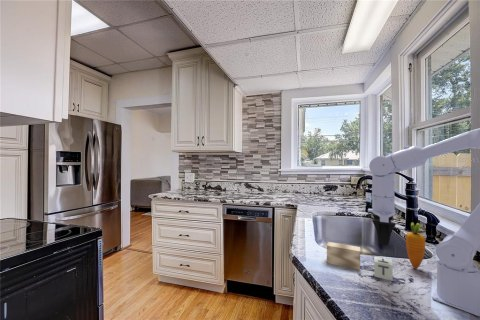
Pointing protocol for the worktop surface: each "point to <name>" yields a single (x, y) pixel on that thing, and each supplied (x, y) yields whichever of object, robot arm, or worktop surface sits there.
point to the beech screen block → (343, 255)
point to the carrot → (415, 245)
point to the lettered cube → (383, 268)
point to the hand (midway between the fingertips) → (383, 240)
